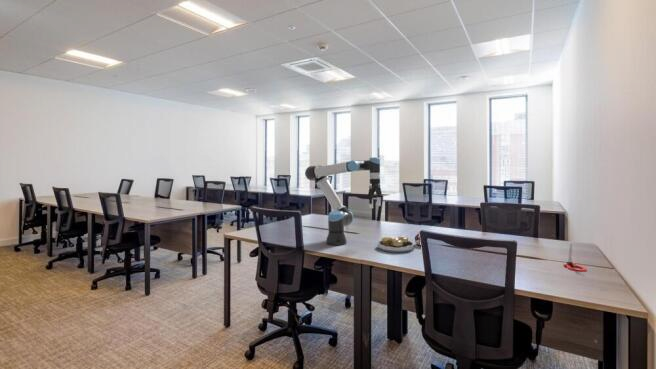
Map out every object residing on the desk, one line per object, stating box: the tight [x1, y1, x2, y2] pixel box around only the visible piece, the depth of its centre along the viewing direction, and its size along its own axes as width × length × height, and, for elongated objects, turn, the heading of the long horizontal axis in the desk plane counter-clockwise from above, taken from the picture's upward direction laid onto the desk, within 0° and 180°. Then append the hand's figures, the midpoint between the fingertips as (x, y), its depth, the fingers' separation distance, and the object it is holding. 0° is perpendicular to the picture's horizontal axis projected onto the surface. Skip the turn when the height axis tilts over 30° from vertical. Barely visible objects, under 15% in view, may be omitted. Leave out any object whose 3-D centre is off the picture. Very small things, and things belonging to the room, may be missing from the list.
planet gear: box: [381, 236, 394, 246], centre depth 228 cm, size 7×7×5 cm
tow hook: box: [562, 243, 587, 272], centre depth 175 cm, size 8×13×9 cm
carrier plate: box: [377, 236, 415, 254], centre depth 225 cm, size 24×24×7 cm
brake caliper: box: [414, 232, 421, 248], centre depth 231 cm, size 11×11×12 cm
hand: (375, 207), depth 240 cm, fingers open, 13 cm apart
